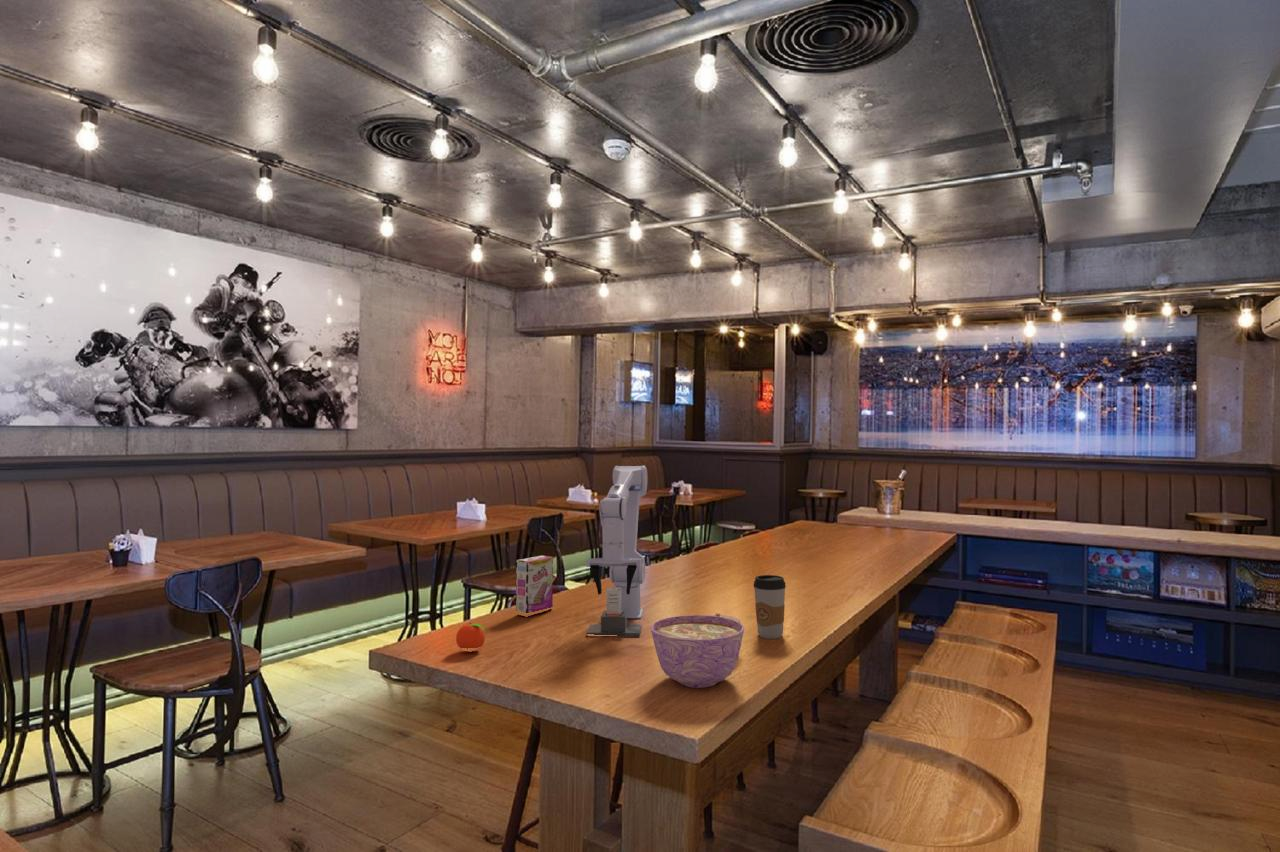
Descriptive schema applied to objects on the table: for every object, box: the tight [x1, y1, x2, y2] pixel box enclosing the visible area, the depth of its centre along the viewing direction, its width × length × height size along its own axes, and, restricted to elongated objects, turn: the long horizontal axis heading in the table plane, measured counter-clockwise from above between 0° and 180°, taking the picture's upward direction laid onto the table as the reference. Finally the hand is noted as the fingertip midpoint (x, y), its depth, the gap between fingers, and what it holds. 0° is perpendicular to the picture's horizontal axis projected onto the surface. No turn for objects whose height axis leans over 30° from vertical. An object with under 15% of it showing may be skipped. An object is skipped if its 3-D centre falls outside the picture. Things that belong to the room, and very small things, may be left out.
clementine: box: [455, 622, 488, 649], centre depth 174 cm, size 8×7×7 cm
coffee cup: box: [753, 574, 787, 640], centre depth 184 cm, size 8×8×15 cm
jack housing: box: [585, 610, 643, 638], centre depth 189 cm, size 8×14×5 cm, turn 86°
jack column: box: [606, 586, 622, 616], centre depth 189 cm, size 4×4×8 cm
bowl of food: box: [650, 614, 745, 689], centre depth 151 cm, size 20×20×12 cm
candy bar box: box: [515, 555, 554, 613], centre depth 212 cm, size 11×5×16 cm, turn 144°
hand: (614, 593), depth 190 cm, fingers open, 7 cm apart
